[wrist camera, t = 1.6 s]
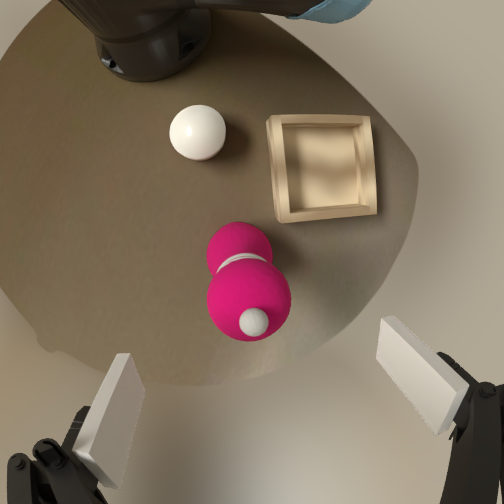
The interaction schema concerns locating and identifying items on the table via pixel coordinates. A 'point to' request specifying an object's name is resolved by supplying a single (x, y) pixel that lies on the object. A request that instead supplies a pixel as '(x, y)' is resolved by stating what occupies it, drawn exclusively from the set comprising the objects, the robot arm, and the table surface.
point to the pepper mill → (245, 284)
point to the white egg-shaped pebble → (198, 132)
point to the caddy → (321, 166)
